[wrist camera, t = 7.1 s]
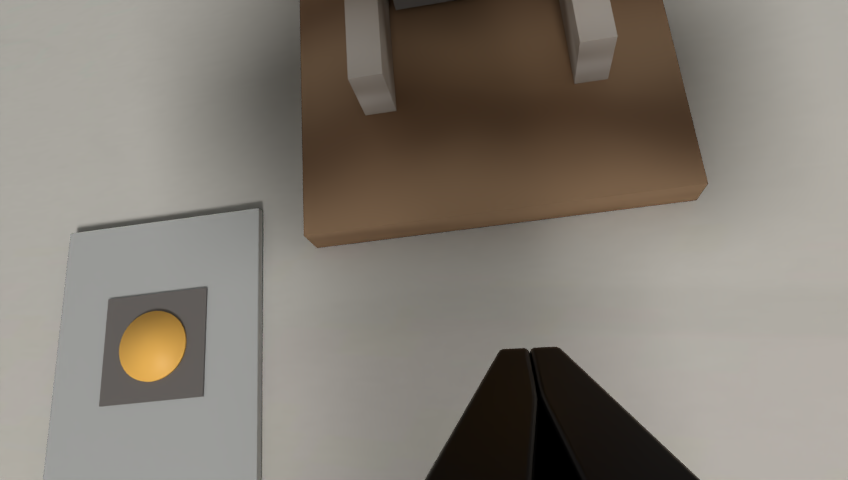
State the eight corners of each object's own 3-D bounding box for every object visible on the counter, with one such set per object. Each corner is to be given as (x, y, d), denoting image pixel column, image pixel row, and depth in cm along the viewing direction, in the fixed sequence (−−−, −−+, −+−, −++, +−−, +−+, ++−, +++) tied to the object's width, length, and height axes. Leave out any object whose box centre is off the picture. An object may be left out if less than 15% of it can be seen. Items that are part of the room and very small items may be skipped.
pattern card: (261, 481, 21) (254, 482, 21) (48, 498, 22) (36, 499, 22) (262, 211, 25) (256, 205, 24) (77, 236, 26) (66, 231, 25)
